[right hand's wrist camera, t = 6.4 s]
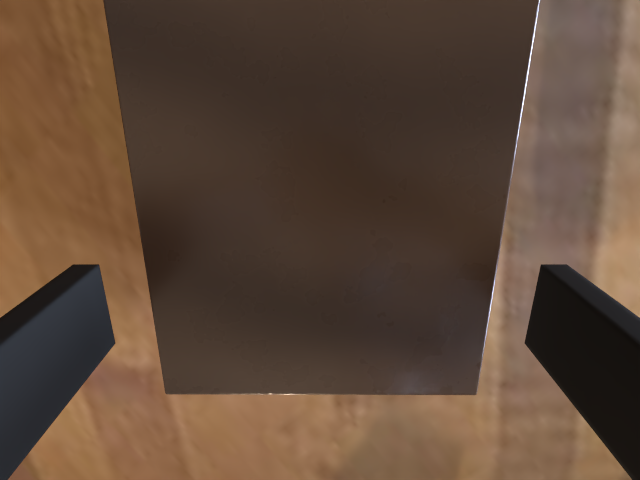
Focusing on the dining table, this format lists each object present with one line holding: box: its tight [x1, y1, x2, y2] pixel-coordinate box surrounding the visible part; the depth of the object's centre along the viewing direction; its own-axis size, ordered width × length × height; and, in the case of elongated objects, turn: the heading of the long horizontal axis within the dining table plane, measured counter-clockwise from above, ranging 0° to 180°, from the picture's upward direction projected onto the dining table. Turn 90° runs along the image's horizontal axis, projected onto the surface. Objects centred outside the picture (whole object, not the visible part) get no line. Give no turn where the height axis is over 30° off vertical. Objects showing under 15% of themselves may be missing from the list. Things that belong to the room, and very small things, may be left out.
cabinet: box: [103, 0, 540, 395], centre depth 15 cm, size 21×11×9 cm, turn 0°
